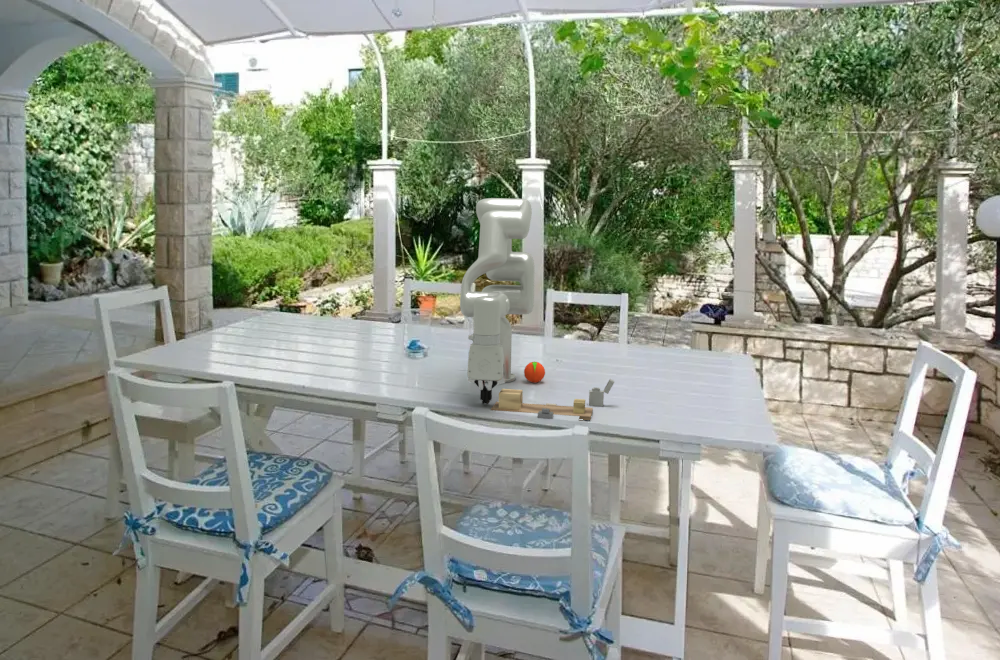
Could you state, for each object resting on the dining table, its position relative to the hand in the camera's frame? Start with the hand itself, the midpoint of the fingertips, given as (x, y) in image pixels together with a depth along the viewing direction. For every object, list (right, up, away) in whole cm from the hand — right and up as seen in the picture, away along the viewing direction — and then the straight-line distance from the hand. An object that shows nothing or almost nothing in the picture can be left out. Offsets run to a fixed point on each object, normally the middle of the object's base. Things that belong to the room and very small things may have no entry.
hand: (486, 402), depth 213 cm
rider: (+7, -1, -1) cm, 7 cm away
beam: (+16, -3, -3) cm, 16 cm away
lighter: (+34, -2, +6) cm, 34 cm away
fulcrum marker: (+16, -4, -10) cm, 20 cm away
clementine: (+15, +3, +32) cm, 35 cm away
